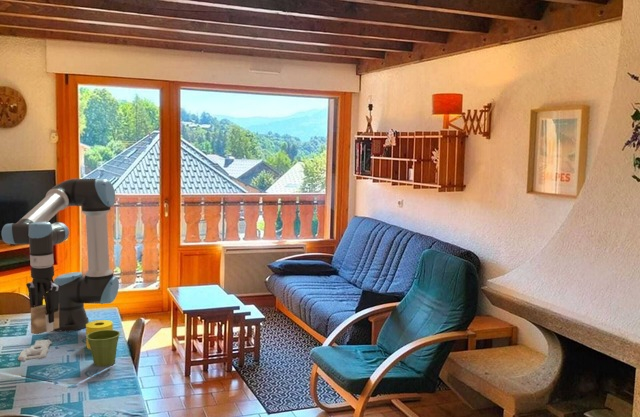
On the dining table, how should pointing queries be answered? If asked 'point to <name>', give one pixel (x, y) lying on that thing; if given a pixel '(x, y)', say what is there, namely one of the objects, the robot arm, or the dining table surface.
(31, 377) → the mat
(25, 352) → the light grey toy spaceship
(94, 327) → the yellow paper roll
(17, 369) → the dining table surface
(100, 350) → the plant pot
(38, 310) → the rectangular block
